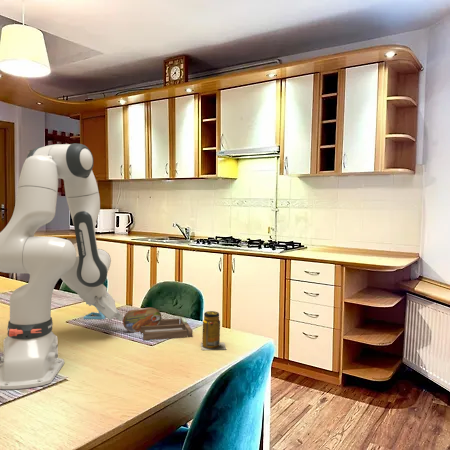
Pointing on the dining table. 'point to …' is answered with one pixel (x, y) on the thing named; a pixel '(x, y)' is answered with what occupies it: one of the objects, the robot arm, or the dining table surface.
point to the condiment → (211, 332)
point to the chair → (100, 316)
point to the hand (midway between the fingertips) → (121, 318)
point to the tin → (141, 319)
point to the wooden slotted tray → (167, 329)
